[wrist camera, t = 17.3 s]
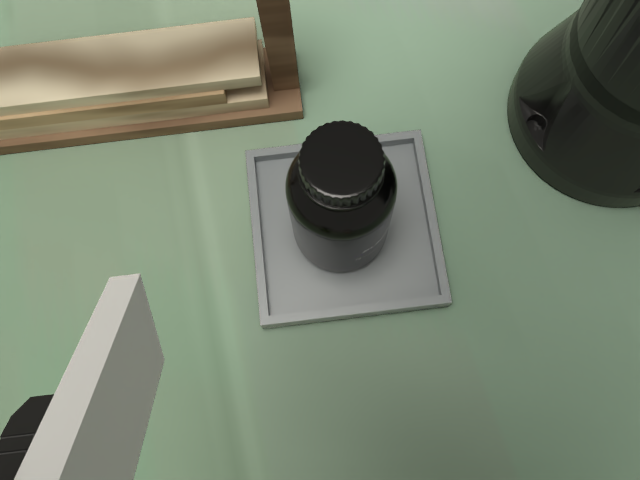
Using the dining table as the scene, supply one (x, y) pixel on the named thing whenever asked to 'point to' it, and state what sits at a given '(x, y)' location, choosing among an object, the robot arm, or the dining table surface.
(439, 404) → the dining table surface
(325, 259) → the supplement bottle
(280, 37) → the walnut rack
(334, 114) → the dining table surface
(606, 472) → the dining table surface
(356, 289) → the grey tray
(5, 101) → the offcut stack
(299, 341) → the dining table surface
